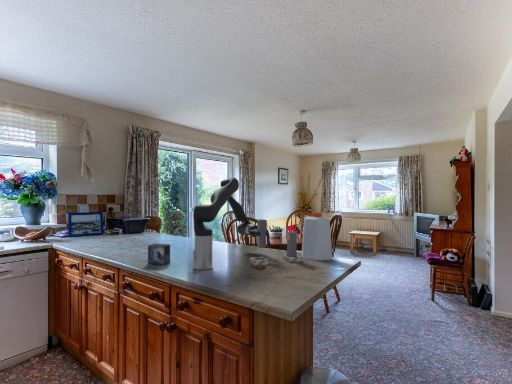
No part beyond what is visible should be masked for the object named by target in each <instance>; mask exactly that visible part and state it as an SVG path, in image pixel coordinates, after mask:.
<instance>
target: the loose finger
mask: <svg viewBox="0 0 512 384" xmlns="http://www.w3.org/2000/svg"><path fill="white" fill-rule="evenodd" d="M256 221H257V222H256V223H257V231H258V232H260V236H258V235H257V237H256V247H257V248H260V249H264V248H267V236H266V229H267V228H268V227H267V226H268V221H267V219H264V218H263V219H261V218H260V219H257V220H256Z"/></svg>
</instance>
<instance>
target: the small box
mask: <svg viewBox="0 0 512 384" xmlns="http://www.w3.org/2000/svg"><path fill="white" fill-rule="evenodd" d="M168 263H169V264H170V263H171V244H169V243H152V244H149V245H147V265H156V266H166V265H169V264H168Z"/></svg>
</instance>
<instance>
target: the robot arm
mask: <svg viewBox="0 0 512 384" xmlns="http://www.w3.org/2000/svg"><path fill="white" fill-rule="evenodd" d="M239 186H240V182H239V180H238V179H237V178H236V177H229V178H226V179H225V178H224V179H223V180H221V181H220V187H219V188H217V189H216V190H215V191H214V192H213V193H212V194H211V195H210V203H211V204H196V205H195V206H194V207H193V217H192V219H193V231H194V249H193V250H192V269H195V270H197V271H207V270H211V269H213V246H214V245H213V241H214V240H213V238H214V237H213V233H214V232H213V229H212V228H209V227H208V226H206V225H205V223H212V222H214V220H215V219H216V218H217V216H218V214H219V213H220V210H222V208H223V207H224V205H225V204H226V203H227V202H228V204H229V205H230V207H231V209H232V212H233V214H234V215H233V216H234V218H235V220H236V221H237V222H242V223H240V224H238V225H237V227H236V231H237V233H238V234H240V235H242V236H243V235H248V236H249V237H252V238H257V235H258V236H260V232H258V231H257V225H256V224H254V223H251V221H250V220H249V218H248V217H247V215H246V213H245V210H244V208H243V206H242V204H240V202H238V200H236V199H235V198H234V197H233V196H232V195H234V193H236V192H237V191H238V190H239ZM243 221H244V222H243ZM268 235H269V229H267V228H266V237H267V236H268Z"/></svg>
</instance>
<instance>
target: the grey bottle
mask: <svg viewBox="0 0 512 384" xmlns="http://www.w3.org/2000/svg"><path fill="white" fill-rule="evenodd" d="M303 219H304V220H303V231H302V233H303V234H302V244H301V257H302V258H304V259H307V260H308V259H309V260H312V261H325V260H327V261H331V260H332V259H333V255H332V252H333V251H332V240H331V223H330V218H329V217H325V216H323V213H322V212H319V211H317V212H315V211H314V212H312V213H311V216H307V217H305V218H303Z"/></svg>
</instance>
